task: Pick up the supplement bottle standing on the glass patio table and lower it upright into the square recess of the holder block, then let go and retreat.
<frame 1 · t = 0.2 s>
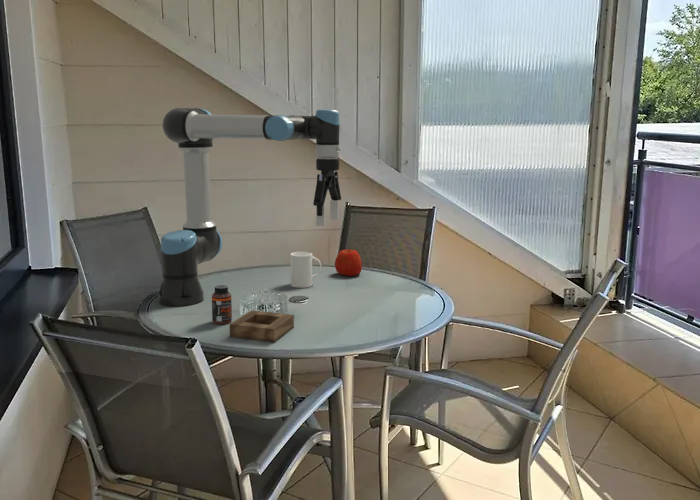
hand: (327, 222, 215), 28 cm above the table, fingers open, 13 cm apart
apple: (348, 275, 260), on the table
holder block: (262, 332, 190), on the table
mug: (305, 285, 244), on the table
supplement bottle: (222, 322, 200), on the table
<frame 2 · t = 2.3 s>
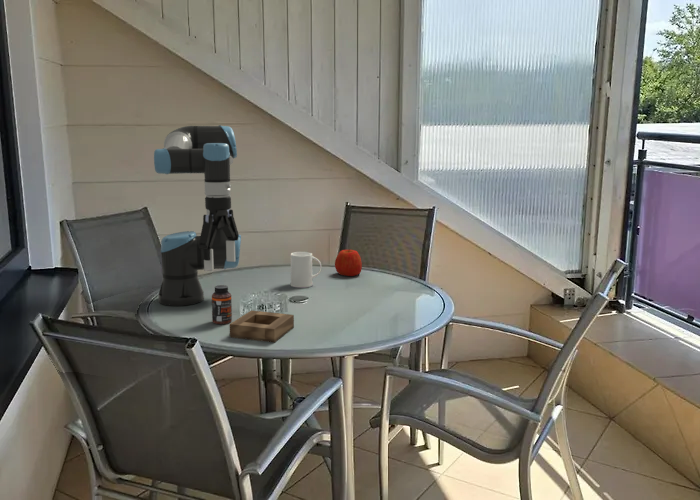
hand: (220, 265, 196), 18 cm above the table, fingers open, 13 cm apart
nothing on the table moved.
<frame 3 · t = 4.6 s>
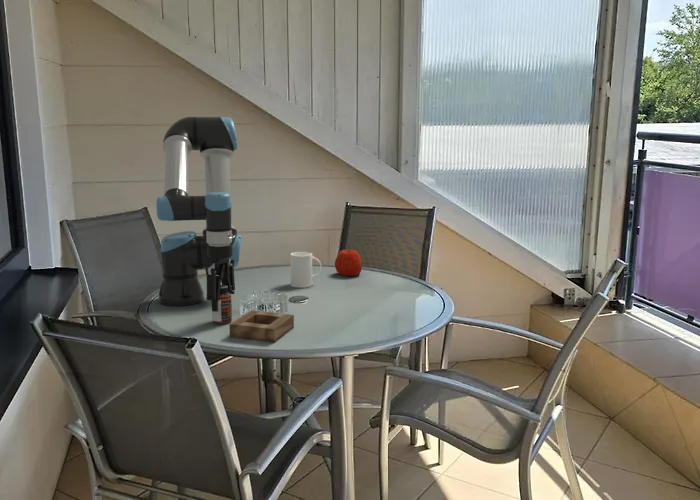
hand: (222, 317, 199), 1 cm above the table, fingers closed on supplement bottle, 6 cm apart
supplement bottle: (222, 322, 200), on the table, touching gripper
everything else where it was.
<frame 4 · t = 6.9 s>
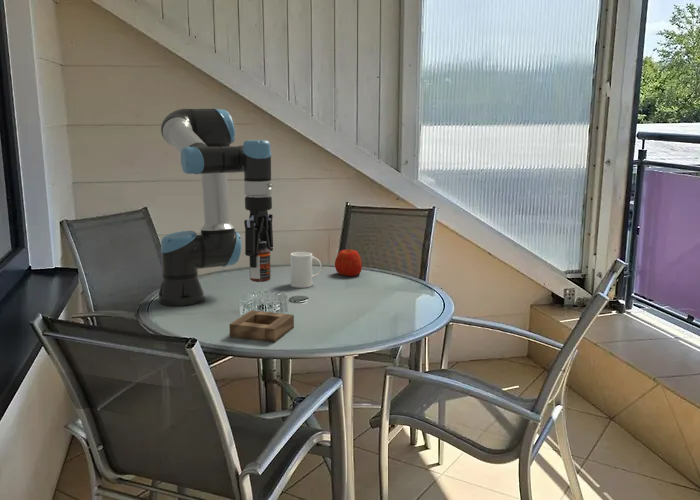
hand: (260, 275, 187), 17 cm above the table, fingers closed on supplement bottle, 6 cm apart
supplement bottle: (260, 280, 187), point 16 cm above the table, touching gripper
everything else where it was.
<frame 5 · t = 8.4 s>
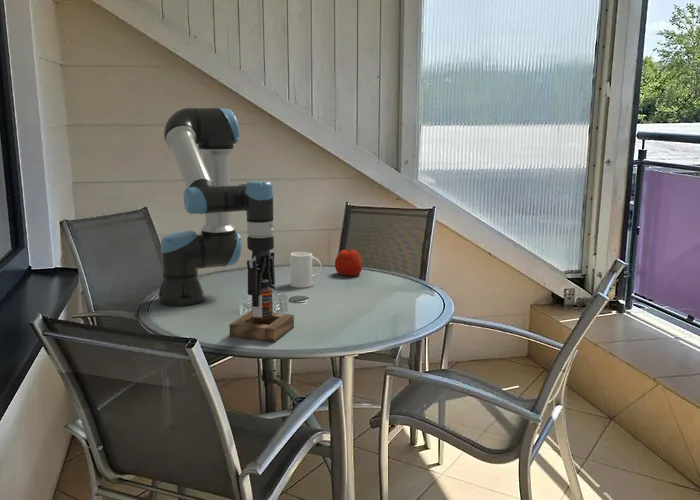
hand: (262, 313, 189), 6 cm above the table, fingers closed on supplement bottle, 6 cm apart
supplement bottle: (262, 318, 189), point 4 cm above the table, touching gripper
everything else where it was.
when the fingers open (5 cm above the table, at t = 9.3 s): supplement bottle drops 2 cm, resting on holder block.
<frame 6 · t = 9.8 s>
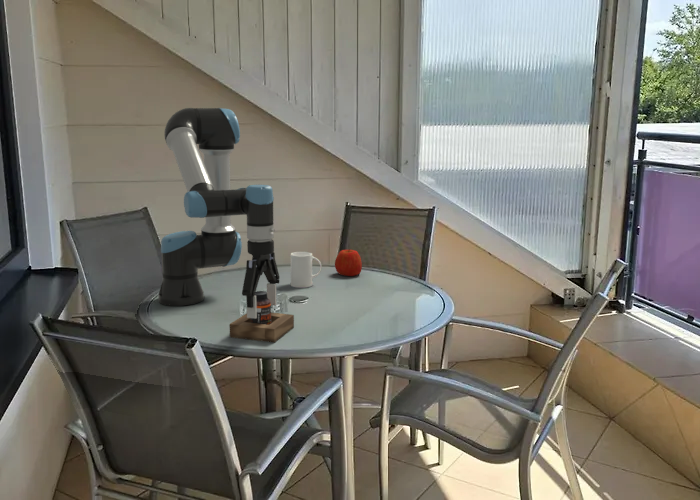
hand: (262, 311, 189), 6 cm above the table, fingers open, 13 cm apart
supplement bottle: (261, 330, 190), point 1 cm above the table, touching holder block
everything else where it was.
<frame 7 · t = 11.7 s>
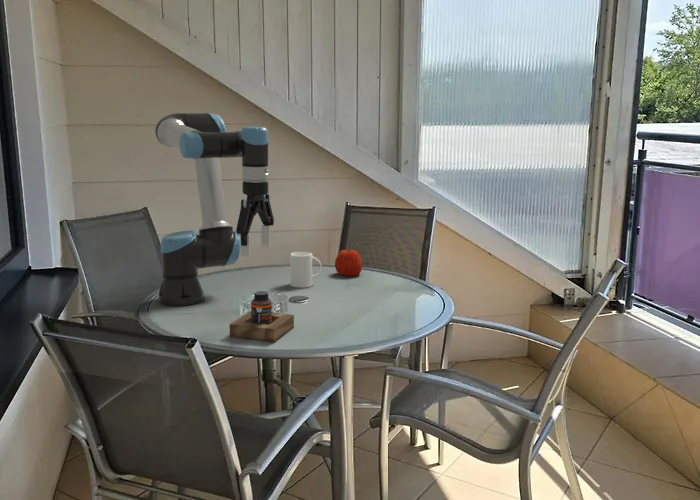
hand: (256, 251, 194), 23 cm above the table, fingers open, 13 cm apart
nothing on the table moved.
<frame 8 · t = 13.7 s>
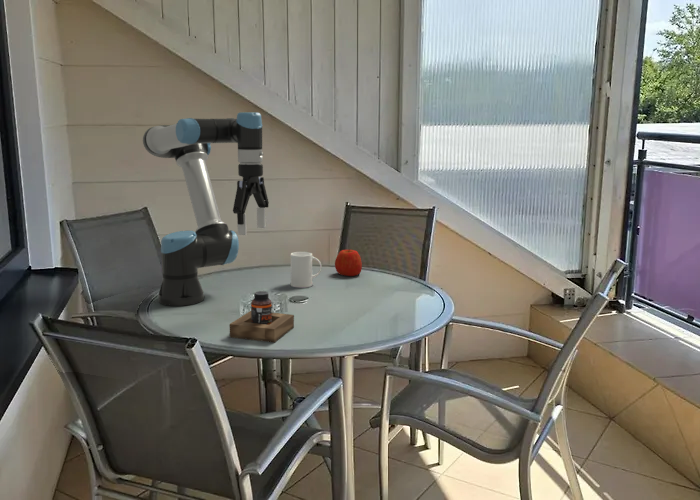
hand: (252, 231, 204), 27 cm above the table, fingers open, 13 cm apart
nothing on the table moved.
at the end: supplement bottle 0.4 cm from the holder block (horizontally); supplement bottle tilted 0°; the gripper is holding nothing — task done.
